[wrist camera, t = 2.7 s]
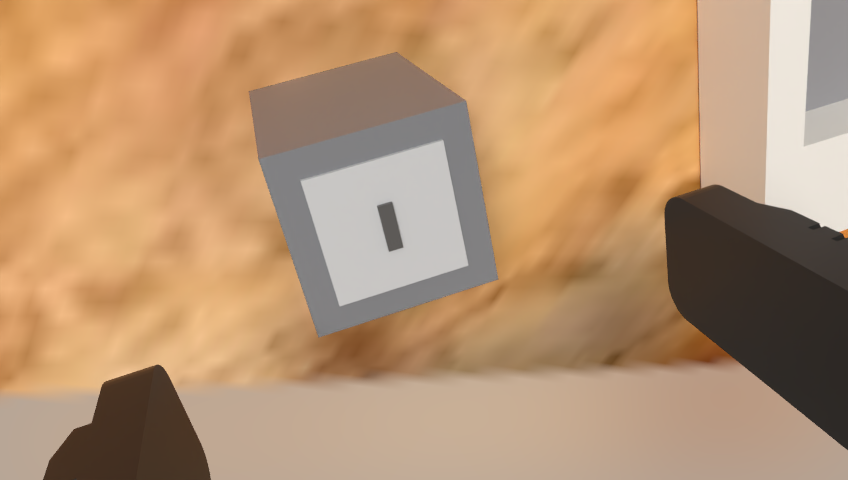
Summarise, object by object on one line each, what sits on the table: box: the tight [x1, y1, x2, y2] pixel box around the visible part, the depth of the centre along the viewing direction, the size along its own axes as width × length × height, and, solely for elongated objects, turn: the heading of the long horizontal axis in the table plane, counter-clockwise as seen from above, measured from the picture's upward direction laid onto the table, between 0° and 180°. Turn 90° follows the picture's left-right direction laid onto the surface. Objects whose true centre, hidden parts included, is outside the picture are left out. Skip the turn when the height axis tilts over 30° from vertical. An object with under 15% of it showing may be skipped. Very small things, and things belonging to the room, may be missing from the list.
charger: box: [249, 52, 498, 337], centre depth 16 cm, size 4×4×6 cm
